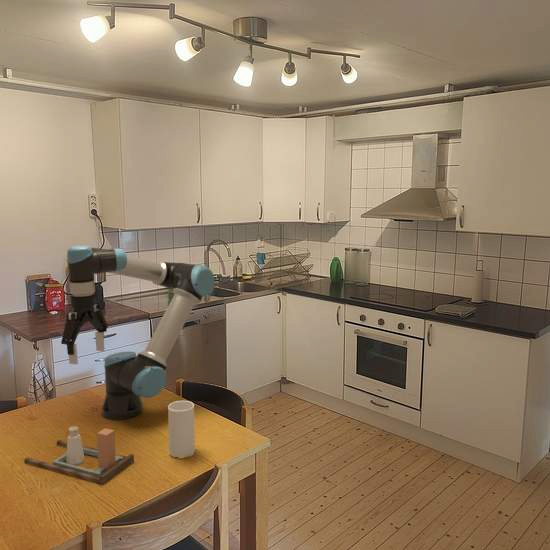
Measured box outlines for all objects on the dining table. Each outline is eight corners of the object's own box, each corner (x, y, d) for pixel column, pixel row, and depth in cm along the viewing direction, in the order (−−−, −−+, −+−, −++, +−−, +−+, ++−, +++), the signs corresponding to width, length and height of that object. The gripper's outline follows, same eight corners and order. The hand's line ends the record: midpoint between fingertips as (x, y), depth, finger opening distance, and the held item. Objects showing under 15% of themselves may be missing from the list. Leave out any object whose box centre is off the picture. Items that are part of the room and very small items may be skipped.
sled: (123, 461, 159) (122, 425, 157) (99, 478, 149) (97, 440, 147) (78, 450, 165) (76, 415, 164) (52, 465, 156) (50, 429, 154)
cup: (170, 446, 169) (169, 400, 167) (195, 445, 170) (194, 400, 167) (167, 458, 161) (166, 411, 159) (194, 458, 162) (193, 410, 159)
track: (134, 461, 159) (133, 454, 159) (103, 484, 146) (102, 477, 146) (59, 443, 171) (59, 436, 170) (24, 462, 158) (24, 455, 158)
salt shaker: (67, 467, 156) (65, 433, 154) (64, 459, 160) (62, 426, 159) (86, 462, 159) (84, 429, 157) (82, 455, 163) (80, 422, 161)
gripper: (97, 286, 177) (101, 344, 180) (45, 301, 153) (51, 368, 157) (115, 287, 174) (119, 346, 178) (65, 303, 151) (71, 371, 155)
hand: (87, 357), depth 168 cm, fingers open, 13 cm apart
